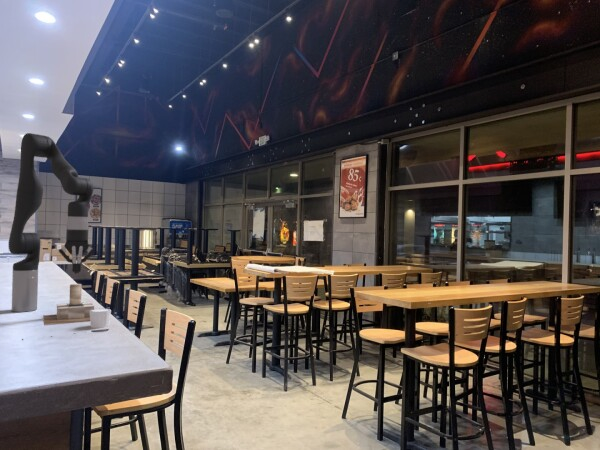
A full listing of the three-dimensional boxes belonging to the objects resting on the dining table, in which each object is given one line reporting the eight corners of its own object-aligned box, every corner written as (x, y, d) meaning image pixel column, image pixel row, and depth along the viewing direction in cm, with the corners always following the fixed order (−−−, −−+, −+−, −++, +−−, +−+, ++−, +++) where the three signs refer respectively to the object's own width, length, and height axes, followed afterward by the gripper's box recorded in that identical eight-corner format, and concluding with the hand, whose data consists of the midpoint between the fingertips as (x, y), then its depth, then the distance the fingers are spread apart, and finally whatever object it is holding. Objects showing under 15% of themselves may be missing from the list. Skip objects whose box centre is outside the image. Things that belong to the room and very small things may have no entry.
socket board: (43, 319, 165) (43, 305, 165) (91, 315, 174) (92, 301, 174) (44, 329, 148) (44, 313, 148) (97, 324, 157) (98, 309, 157)
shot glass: (114, 328, 152) (115, 308, 152) (103, 333, 145) (104, 312, 145) (96, 327, 152) (96, 308, 152) (84, 332, 146) (85, 311, 146)
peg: (68, 315, 166) (69, 284, 167) (80, 314, 169) (81, 283, 169) (69, 317, 163) (70, 285, 163) (81, 316, 165) (82, 284, 165)
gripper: (95, 228, 173) (93, 271, 173) (57, 228, 166) (56, 272, 166) (97, 229, 167) (96, 273, 167) (58, 228, 160) (57, 274, 160)
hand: (76, 273), depth 166 cm, fingers closed
